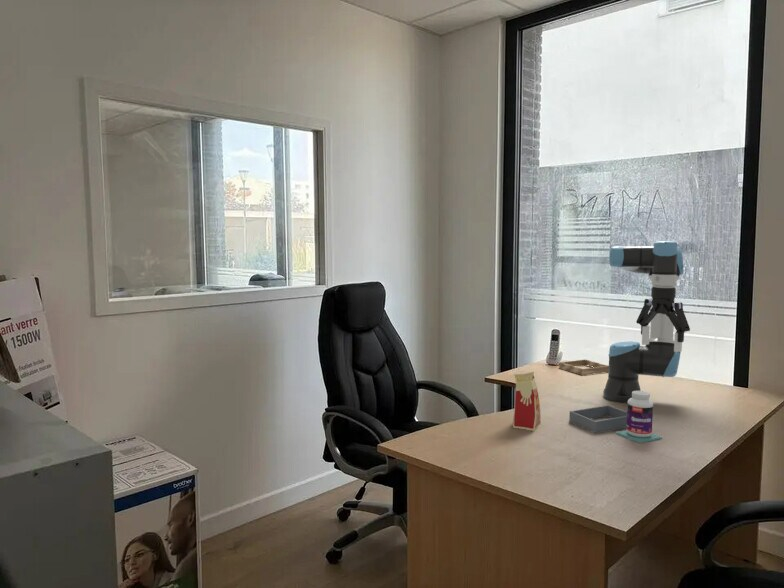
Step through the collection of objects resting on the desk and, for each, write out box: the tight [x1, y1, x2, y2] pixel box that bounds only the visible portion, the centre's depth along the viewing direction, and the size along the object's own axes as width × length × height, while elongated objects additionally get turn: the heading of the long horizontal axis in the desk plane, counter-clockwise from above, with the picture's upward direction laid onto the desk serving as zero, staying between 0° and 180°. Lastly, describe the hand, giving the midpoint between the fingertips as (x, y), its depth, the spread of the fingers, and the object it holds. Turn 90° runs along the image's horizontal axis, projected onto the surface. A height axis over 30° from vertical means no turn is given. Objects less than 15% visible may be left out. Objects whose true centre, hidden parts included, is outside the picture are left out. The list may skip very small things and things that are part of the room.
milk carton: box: [512, 370, 542, 432], centre depth 209 cm, size 9×9×20 cm
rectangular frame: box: [568, 404, 627, 434], centre depth 211 cm, size 13×18×4 cm
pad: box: [616, 429, 663, 444], centre depth 198 cm, size 10×10×1 cm
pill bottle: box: [625, 390, 654, 437], centre depth 197 cm, size 8×8×14 cm
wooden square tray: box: [558, 358, 609, 376], centre depth 293 cm, size 17×17×3 cm
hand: (661, 347), depth 203 cm, fingers open, 13 cm apart
